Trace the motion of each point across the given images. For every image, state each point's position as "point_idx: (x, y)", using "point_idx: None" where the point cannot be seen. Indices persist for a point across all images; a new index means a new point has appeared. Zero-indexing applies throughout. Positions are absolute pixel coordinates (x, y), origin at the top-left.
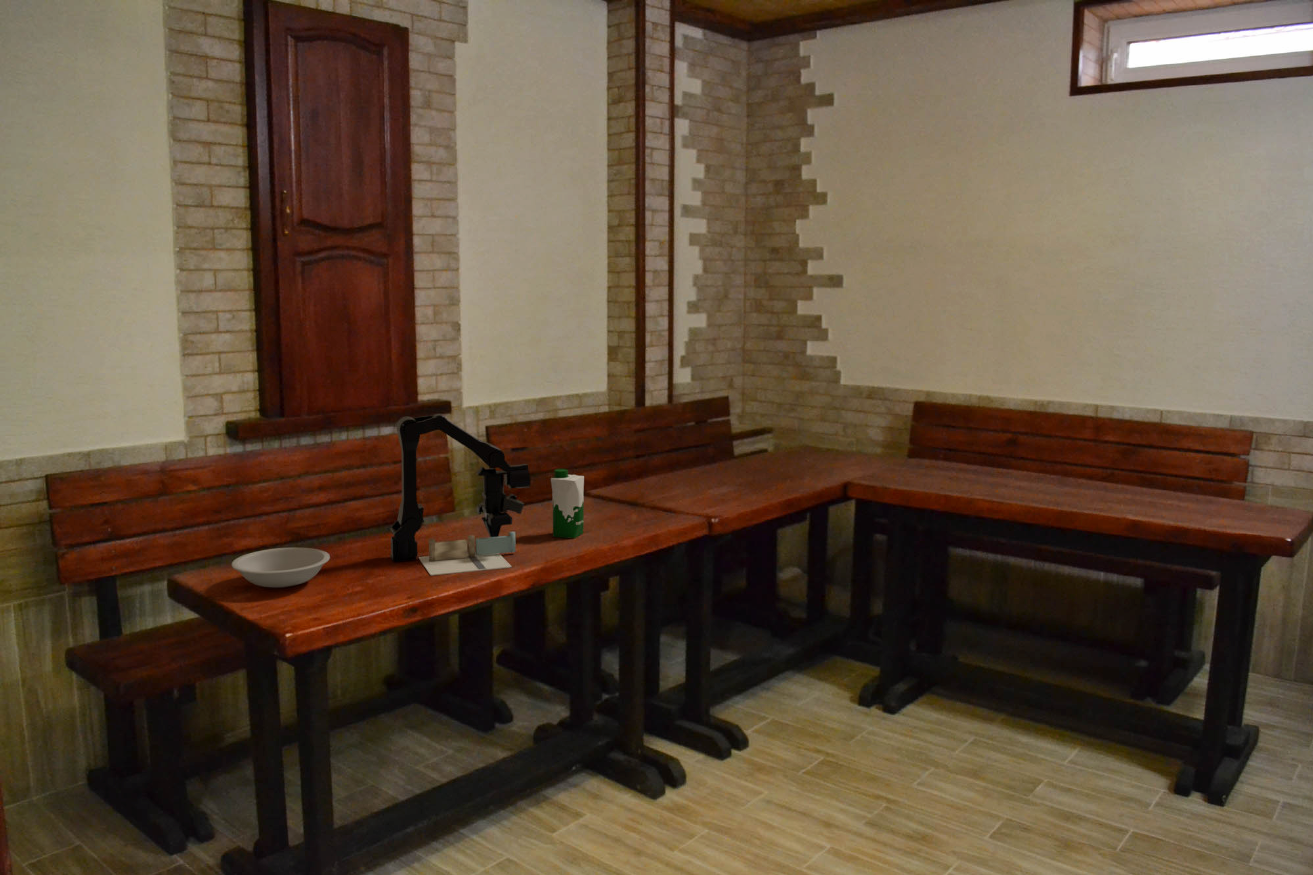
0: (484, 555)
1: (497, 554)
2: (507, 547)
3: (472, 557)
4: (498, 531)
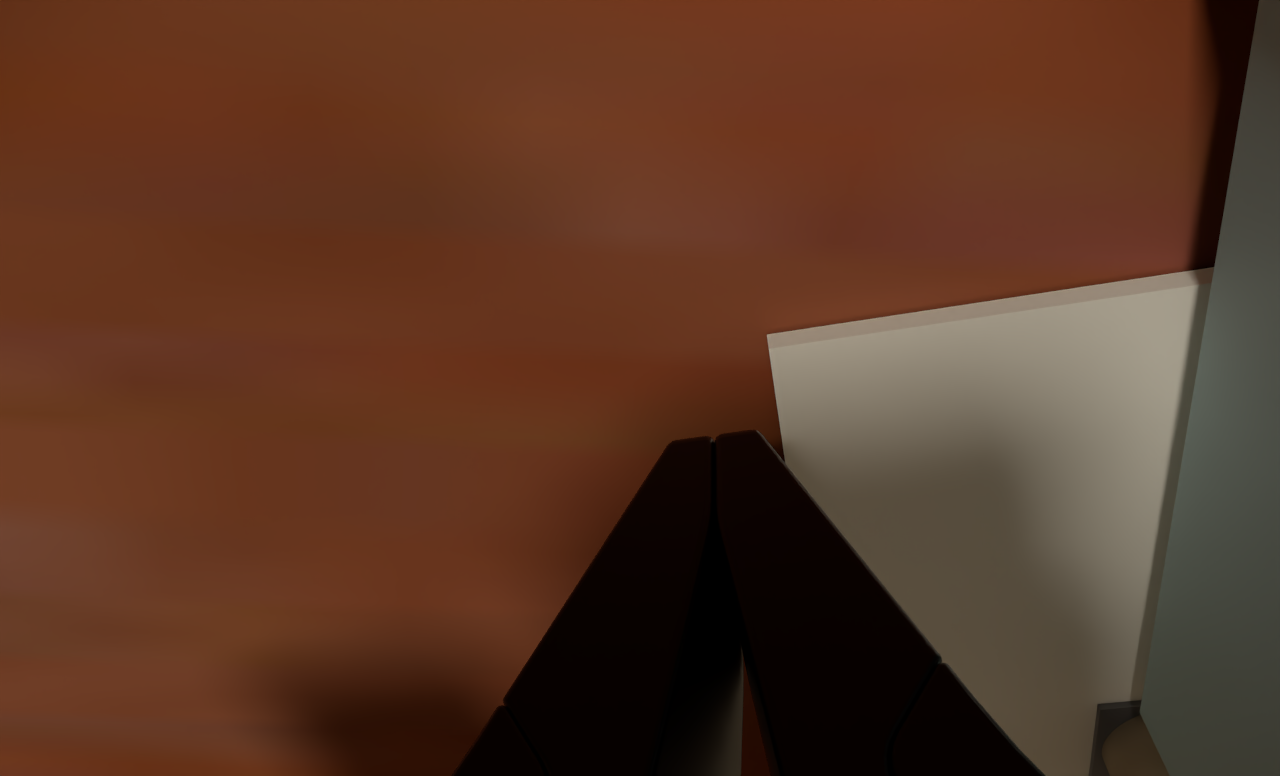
0: None
1: None
2: None
3: None
4: (977, 742)
